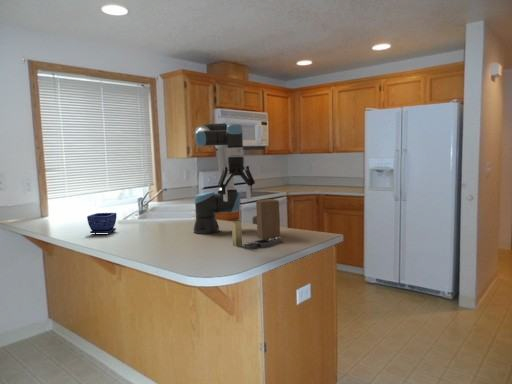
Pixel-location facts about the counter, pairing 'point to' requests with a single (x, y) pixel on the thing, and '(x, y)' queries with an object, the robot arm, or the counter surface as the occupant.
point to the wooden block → (268, 218)
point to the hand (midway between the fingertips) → (237, 199)
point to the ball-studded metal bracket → (263, 243)
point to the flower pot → (102, 222)
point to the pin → (236, 233)
